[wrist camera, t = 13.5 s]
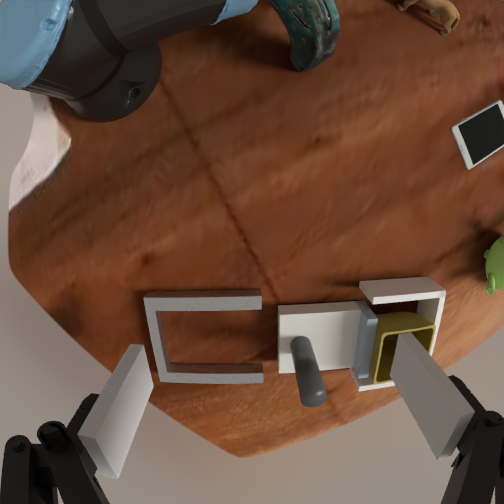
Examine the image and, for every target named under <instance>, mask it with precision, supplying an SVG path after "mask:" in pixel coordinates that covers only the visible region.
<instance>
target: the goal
mask: <svg viewBox="0 0 504 504" xmlns="http://www.w3.org/2000/svg"><path fill="white" fill-rule="evenodd" d="M359 288H360V289H361V290H362V292H363V293H364V294H365V295H366V297H367V298H368V299H369V300H370V301H371V303H372V304H382V303H393V302H403V301H413V300H419V301H418V307H417V313H416V314H418V315H419V316H421V317H423V318H424V319H426V320H428V321H429V322H431V323H432V324H434V325H435V326H436V329H435V334H434V339H433V342H432V347H431V350H430V355H431V356H432V352H433V349H434V345H435V341H436V337H437V333H438V329H439V324H440V320H441V315H442V311H443V306H444V301H445V296H446V290H445V289H444V288H442V287H441V286H440V285H438V284H437V283H436V282H434V281H433V280H431V279H430V278H429V277H414V278H400V279H386V280H370V281H360V282H359ZM349 370H350V373H351V375H352V377H353V380H354V382H355V384H356V386H357V389H358V391H364V390H371V389H377V388H383V387H389V386H395V384H394V382H393V381H392V382H387V383H382V384H376V385H374V384H373V382H372V379H371V376H370V373H368V377H366V378H359V379H358V377H357V375H356V373H355V370H354V368H353V367H350V368H349Z"/></svg>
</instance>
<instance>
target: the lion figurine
mask: <svg viewBox="0 0 504 504" xmlns="http://www.w3.org/2000/svg"><path fill="white" fill-rule="evenodd" d="M415 3H419V4H420V5H422V6H423V7H425V8H427V9H430V10H429V13H430V14H431V15H432V16H437V17H440V20H441V23H442V25H443V27H444V29H445V30H444V29H440V30H439V31H440V34H441V35H443V36H445V35H447V34H448V33H450V32H451V30H452V31H455V30H456V29H455V28H454V27H455V26H456V25H457V24H458V23H459V19H460V17H459V13H458V11H457V9H456V7H455V6H454V5H453V4H452V3H451V2H450V1H448V0H405V1H404V3H403V4H398V5H397V7H398V9H399V10H400V11H403V10H405V9H406V8H408V6H410V5H412V4H415ZM434 11H437V12H434ZM454 20H455V21H454ZM453 21H454V23H453V24H452V22H453ZM451 24H452V26H451ZM450 26H451V28H450Z"/></svg>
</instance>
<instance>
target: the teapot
mask: <svg viewBox="0 0 504 504" xmlns="http://www.w3.org/2000/svg"><path fill="white" fill-rule="evenodd" d="M484 258H486V264H485V268H486V276H487V279H488V281H487V294H488V295H493V294H494V293H495V288H497V289H502V290H504V236H502V237H500V238H499V239H497V240H496V241H495V242H494V243H493V245H492V246H491V248H490V249H487V250H486V251H485V252H484Z"/></svg>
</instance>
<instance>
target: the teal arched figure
mask: <svg viewBox="0 0 504 504" xmlns="http://www.w3.org/2000/svg"><path fill="white" fill-rule="evenodd" d="M267 1H268V3H269V4H270V5H271V6H272V7H273V8H274V10H275V11H276V12H277V13H278V15H279V17H280V18H281V20H282V22H283V23H284V25H285V27H286V29H287V32H288V35H289V37H290V60H291V62H292V64H293V66H294V67H295V68H296V69H297V70H298V71H299V72H304V71H306V70H308V69H310V68H313V67H316V66H317V65H319V64H320V63H322V62H323V61H325V60H326V59H327V58H329V57H330V56H331V55H332V54H333V53H334V47H335V45H336V43H337V40H338V37H339V32H340V21H339V14H338V11H337V7H336V5H335V2H334V0H267Z"/></svg>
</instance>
